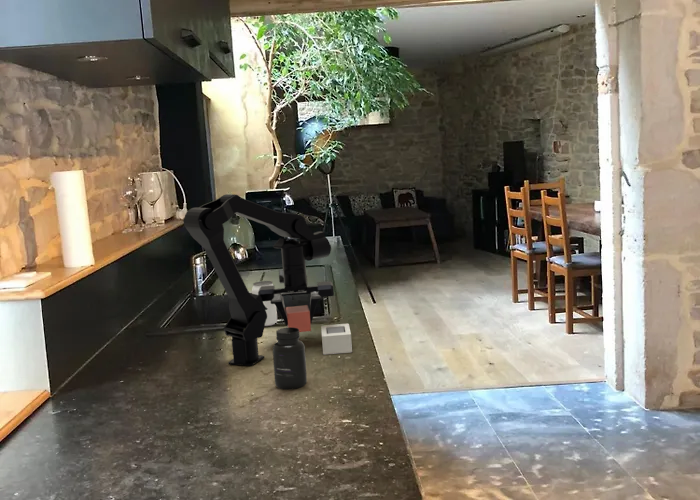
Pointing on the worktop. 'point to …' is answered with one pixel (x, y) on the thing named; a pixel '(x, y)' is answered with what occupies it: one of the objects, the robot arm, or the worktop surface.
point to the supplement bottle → (289, 359)
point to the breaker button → (335, 330)
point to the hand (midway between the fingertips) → (298, 324)
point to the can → (266, 303)
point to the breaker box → (336, 340)
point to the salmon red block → (299, 318)
